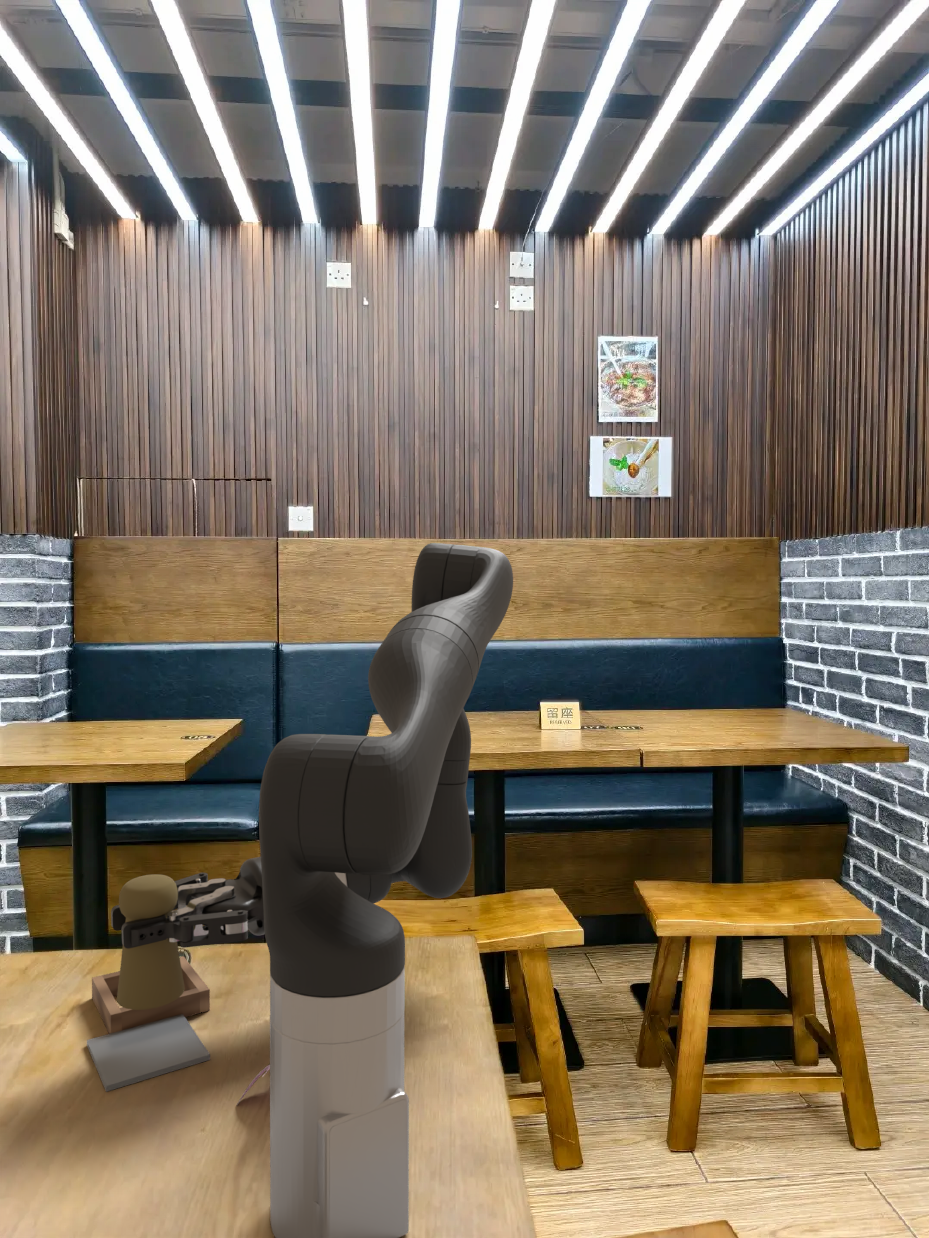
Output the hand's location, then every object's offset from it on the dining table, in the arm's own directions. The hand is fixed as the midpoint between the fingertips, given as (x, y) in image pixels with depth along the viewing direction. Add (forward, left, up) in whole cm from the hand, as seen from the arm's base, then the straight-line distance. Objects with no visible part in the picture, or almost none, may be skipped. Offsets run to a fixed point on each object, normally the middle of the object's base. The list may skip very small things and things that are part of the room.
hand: (118, 927), depth 76 cm
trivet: (0, -2, -12) cm, 13 cm away
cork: (0, -3, -7) cm, 8 cm away
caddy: (+9, -5, -12) cm, 16 cm away
